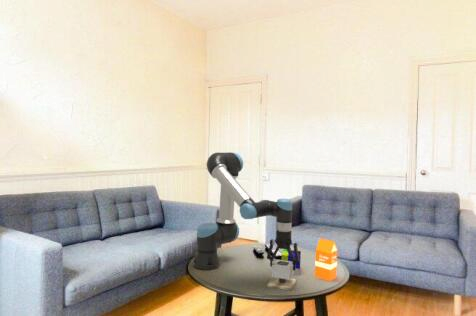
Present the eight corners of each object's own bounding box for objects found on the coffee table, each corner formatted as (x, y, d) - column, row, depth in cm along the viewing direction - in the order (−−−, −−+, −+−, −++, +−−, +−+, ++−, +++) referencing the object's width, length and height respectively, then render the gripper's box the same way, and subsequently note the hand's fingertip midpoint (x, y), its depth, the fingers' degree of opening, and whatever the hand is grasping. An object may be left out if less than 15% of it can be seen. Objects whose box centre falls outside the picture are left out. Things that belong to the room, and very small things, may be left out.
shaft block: (267, 286, 165) (267, 265, 164) (273, 277, 176) (274, 258, 176) (291, 290, 160) (292, 269, 160) (296, 281, 172) (297, 261, 171)
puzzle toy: (299, 275, 181) (300, 256, 180) (281, 273, 183) (281, 255, 182) (300, 268, 191) (300, 251, 190) (282, 266, 193) (283, 249, 192)
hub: (271, 276, 165) (271, 264, 165) (276, 270, 174) (276, 259, 173) (289, 279, 162) (289, 267, 162) (293, 273, 170) (293, 261, 170)
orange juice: (330, 281, 173) (331, 243, 172) (314, 276, 179) (315, 239, 178) (336, 277, 179) (337, 240, 178) (321, 272, 185) (322, 236, 184)
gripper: (260, 229, 168) (259, 273, 168) (304, 234, 160) (303, 281, 160) (265, 226, 175) (264, 268, 175) (307, 230, 167) (305, 275, 167)
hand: (282, 274), depth 168 cm, fingers closed on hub, 9 cm apart
